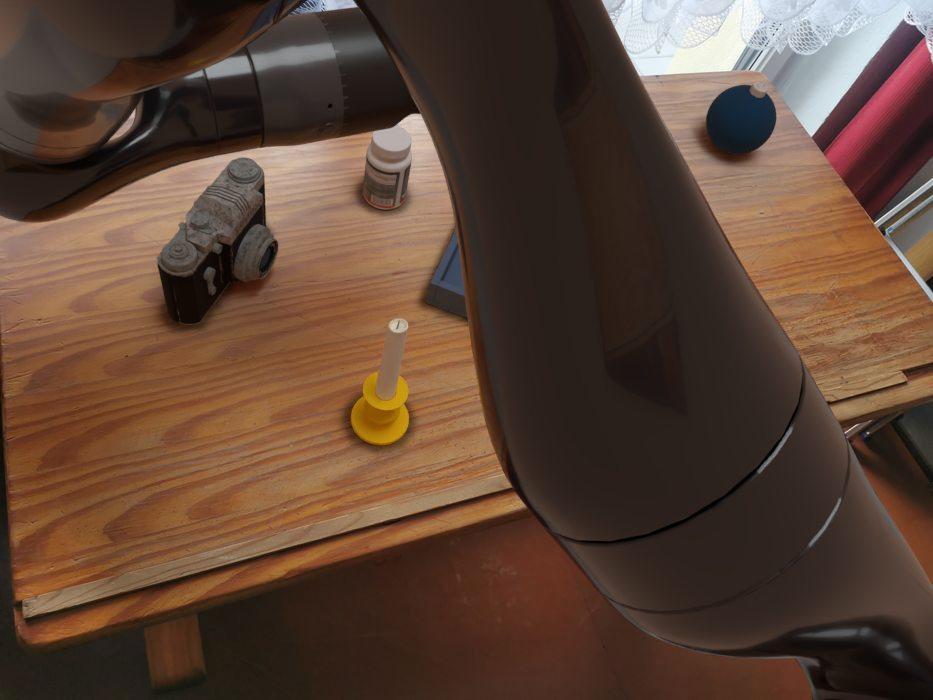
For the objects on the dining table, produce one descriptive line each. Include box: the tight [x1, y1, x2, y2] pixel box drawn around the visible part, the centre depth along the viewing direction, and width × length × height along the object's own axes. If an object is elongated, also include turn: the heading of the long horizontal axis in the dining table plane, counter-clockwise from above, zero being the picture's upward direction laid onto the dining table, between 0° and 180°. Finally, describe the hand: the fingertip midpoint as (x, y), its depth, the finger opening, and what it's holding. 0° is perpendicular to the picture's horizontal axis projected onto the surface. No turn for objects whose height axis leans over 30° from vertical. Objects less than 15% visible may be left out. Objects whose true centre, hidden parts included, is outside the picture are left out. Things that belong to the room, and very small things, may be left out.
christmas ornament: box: [705, 81, 777, 155], centre depth 97 cm, size 8×8×10 cm
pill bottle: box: [362, 124, 413, 211], centre depth 82 cm, size 5×5×8 cm
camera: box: [156, 156, 279, 326], centre depth 72 cm, size 15×7×10 cm, turn 160°
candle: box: [350, 317, 410, 447], centre depth 64 cm, size 5×5×16 cm
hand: (535, 44), depth 55 cm, fingers open, 8 cm apart
